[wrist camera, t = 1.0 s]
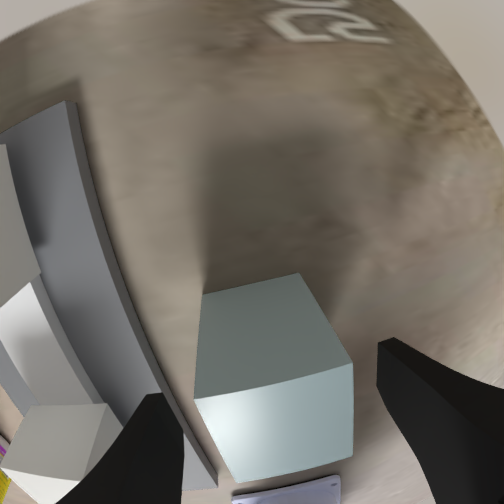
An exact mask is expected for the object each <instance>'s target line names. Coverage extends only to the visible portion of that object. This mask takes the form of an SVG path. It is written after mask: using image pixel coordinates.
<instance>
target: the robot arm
mask: <svg viewBox="0 0 504 504" xmlns="http://www.w3.org/2000/svg"><path fill="white" fill-rule="evenodd" d="M376 386H377V388H378V390H379V393H380V395H381V397H382V399H383V402H384V404H385V406H386V408H387V410H388V412H389V413H390V415H391V416H392V418H393V420H394V421H395V423H396V425H397V426H398V428H399V429H400V431H401V433H402V434H403V436H404V437H405V439H406V441H407V442H408V444H409V446H410V447H411V449H412V450H413V452H414V454H415V456H416V457H417V459H418V461H419V463H420V465H421V467H422V470H423V472H424V474H425V477H426V479H427V481H428V484H429V486H430V489H431V491H432V494H433V497H434V499H435V502H436V504H504V389H501V388H498V387H495V386H492V385H489V384H486V383H483V382H480V381H477V380H475V379H472V378H470V377H468V376H465V375H463V374H461V373H459V372H457V371H454V370H452V369H450V368H448V367H446V366H444V365H442V364H441V363H439V362H437V361H435V360H433V359H431V358H429V357H428V356H426V355H424V354H422V353H421V352H419V351H417V350H415V349H414V348H412V347H410V346H409V345H407V344H405V343H403V342H402V341H400V340H398V339H396V338H394V337H393V338H390V339H387V340H384V341H381V342H378V358H377V383H376ZM184 457H185V452H184V432H183V428H182V427H181V425H180V423H179V421H178V420H177V418H176V416H175V414H174V412H173V411H172V409H171V407H170V405H169V403H168V401H167V399H166V397H165V395H164V394H163V392H161V393H153V394H146V395H145V397H144V398H143V400H142V401H141V403H140V404H139V406H138V407H137V409H136V410H135V412H134V413H133V415H132V416H131V418H130V419H129V421H128V422H127V424H126V425H125V427H124V428H123V430H122V431H121V432H120V434H119V435H118V437H117V438H116V440H115V441H114V442H113V444H112V445H111V446H110V448H109V449H108V450H107V451H106V453H105V454H104V455H103V457H102V458H101V459H100V461H99V462H98V463H97V464H96V465H95V466H94V468H93V469H92V470H91V471H90V472H89V473H88V474H87V475H86V476H85V477H84V478H83V479H82V480H81V481H80V482H79V483H78V484H77V485H76V486H75V487H74V488H73V489H72V490H70V491H69V492H68V493H67V494H66V495H65V496H64V497H62V498H61V499H60V500H59V501H58V502H56V503H55V504H181V495H182V483H183V470H184ZM340 493H341V479H340V477H339V475H332V476H329V477H325V478H321V479H318V480H314V481H310V482H306V483H302V484H298V485H293V486H289V487H284V488H279V489H274V490H269V491H263V492H257V493H251V494H244V495H237V496H233V497H232V498H231V502H232V504H340Z"/></svg>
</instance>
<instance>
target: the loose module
mask: <svg viewBox="0 0 504 504" xmlns="http://www.w3.org/2000/svg"><path fill="white" fill-rule="evenodd" d="M194 401H195V403H196V406H197V408H198V410H199V412H200V414H201V416H202V418H203V420H204V422H205V424H206V426H207V428H208V430H209V432H210V434H211V436H212V438H213V440H214V442H215V444H216V446H217V448H218V450H219V452H220V454H221V456H222V457H223V459H224V461H225V463H226V465H227V467H228V469H229V470H230V472H231V474H232V476H233V478H234V479H235V481H236V483H240V482H247V481H253V480H259V479H265V478H270V477H275V476H280V475H285V474H289V473H294V472H298V471H302V470H306V469H310V468H314V467H318V466H321V465H325V464H328V463H332V462H335V461H338V460H342V459H345V458H348V457H351V456H353V418H354V393H353V362H352V360H351V359H350V357H349V355H348V353H347V352H346V350H345V348H344V347H343V345H342V343H341V342H340V340H339V338H338V336H337V335H336V333H335V331H334V330H333V328H332V326H331V325H330V323H329V321H328V320H327V318H326V316H325V315H324V313H323V311H322V310H321V308H320V306H319V305H318V303H317V301H316V300H315V298H314V296H313V295H312V293H311V291H310V290H309V288H308V286H307V285H306V283H305V282H304V280H303V278H302V277H301V275H300V273H295V274H291V275H287V276H283V277H278V278H274V279H270V280H266V281H261V282H257V283H253V284H248V285H244V286H239V287H235V288H231V289H226V290H222V291H217V292H213V293H208V294H203V295H202V302H201V313H200V324H199V335H198V347H197V359H196V372H195V386H194Z"/></svg>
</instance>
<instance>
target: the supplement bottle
mask: <svg viewBox="0 0 504 504" xmlns="http://www.w3.org/2000/svg"><path fill="white" fill-rule="evenodd" d="M9 446H10V445H9V443H8V442H7V441H6V440H5V439H4V438H3V437H2V436H1V435H0V464H1V462H2V460H3V458H4V456H5V454H6V452H7V450H8V448H9ZM10 482H11V478H10V477H9V476H8V475H7V474H6V473H5V472H4V471H3V470H2V469H1V468H0V504H2V502H3V500H4V497H5V494H6V492H7V489H8V487H9V484H10Z"/></svg>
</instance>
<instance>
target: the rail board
mask: <svg viewBox="0 0 504 504" xmlns="http://www.w3.org/2000/svg"><path fill="white" fill-rule="evenodd" d="M0 384H1V385H2V387H3V388H4V390H5V391H6V393H7V394H8V396H9V397H10V399H11V400H12V401H13V403H14V404H15V406H16V407H17V408H18V410H19V411H20V413H21V414H22V415H23V417H24V419H23V421H22V423H21V424H20V426H19V428H18V430H17V432H16V434H15V436H14V438H13V440H12V442H11V444H10V446H9V448H8V450H7V452H6V454H5V456H4V458H3V460H2V462H1V464H0V468H1V469H2V470H3V471H4V472H5V473H6V474H7V475H8V476H9V477H10V478H11V479H12V480H13V481H14V482H15V483H16V484H17V485H18V486H19V487H20V488H21V489H23V490H24V491H25V492H26V493H27V494H28V495H29V496H30V497H32V498H33V499H34V500H35V501H36V502H38V503H39V504H55V503H56V502H58V501H59V500H60V499H61V498H62V497H64V496H65V495H66V494H67V493H68V492H69V491H70V490H72V489H73V488H74V487H75V486H76V485H77V484H78V483H79V482H80V481H81V480H82V479H83V478H84V477H85V476H86V475H87V474H88V473H89V472H90V471H91V470H92V469H93V468H94V466H95V465H96V464H97V463H98V462H99V461H100V459H101V458H102V457H103V455H104V454H105V453H106V451H107V450H108V449H109V448H110V446H111V445H112V444H113V442H114V441H115V440H116V438H117V437H118V435H119V434H120V432H121V431H122V430H123V428H124V427H125V425H126V424H127V422H128V421H129V419H130V418H131V416H132V415H133V413H134V412H135V410H136V409H137V407H138V406H139V404H140V403H141V401H142V400H143V398H144V397H145V395H146V394H153V393H161V392H163V394H164V395H165V397H166V399H167V401H168V403H169V405H170V407H171V409H172V411H173V412H174V414H175V416H176V418H177V420H178V421H179V423H180V425H181V427H182V428H183V432H184V452H185V457H184V470H183V483H182V491H186V490H200V489H211V488H218V475H217V474H216V472H215V471H214V469H213V467H212V466H211V464H210V462H209V461H208V459H207V457H206V456H205V454H204V452H203V451H202V449H201V447H200V445H199V444H198V442H197V440H196V438H195V437H194V435H193V433H192V431H191V429H190V427H189V426H188V424H187V422H186V420H185V418H184V416H183V414H182V412H181V411H180V409H179V407H178V405H177V403H176V401H175V399H174V397H173V395H172V393H171V391H170V389H169V387H168V385H167V383H166V381H165V378H164V376H163V374H162V372H161V370H160V368H159V366H158V364H157V361H156V359H155V357H154V355H153V352H152V350H151V348H150V346H149V343H148V341H147V339H146V336H145V334H144V332H143V329H142V327H141V324H140V322H139V320H138V317H137V315H136V312H135V310H134V307H133V304H132V302H131V299H130V297H129V294H128V291H127V289H126V286H125V283H124V281H123V278H122V275H121V272H120V269H119V266H118V264H117V261H116V258H115V255H114V252H113V249H112V246H111V243H110V239H109V236H108V233H107V230H106V227H105V223H104V220H103V217H102V213H101V210H100V206H99V203H98V199H97V195H96V192H95V188H94V184H93V180H92V176H91V172H90V168H89V164H88V160H87V155H86V151H85V146H84V142H83V137H82V132H81V127H80V122H79V117H78V111H77V105H76V103H74V102H70V101H66V100H64V101H62V102H60V103H58V104H56V105H54V106H51V107H49V108H47V109H45V110H43V111H41V112H39V113H37V114H35V115H33V116H31V117H29V118H27V119H26V120H24V121H22V122H20V123H18V124H16V125H14V126H13V127H11V128H9V129H7V130H6V131H4V132H2V133H0Z"/></svg>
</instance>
